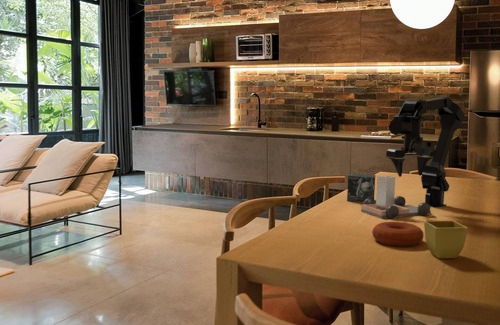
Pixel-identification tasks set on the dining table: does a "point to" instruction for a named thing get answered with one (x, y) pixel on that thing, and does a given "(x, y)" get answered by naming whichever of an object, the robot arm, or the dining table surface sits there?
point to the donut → (397, 234)
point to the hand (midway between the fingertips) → (410, 175)
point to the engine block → (385, 192)
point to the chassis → (395, 209)
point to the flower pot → (445, 238)
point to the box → (360, 187)
